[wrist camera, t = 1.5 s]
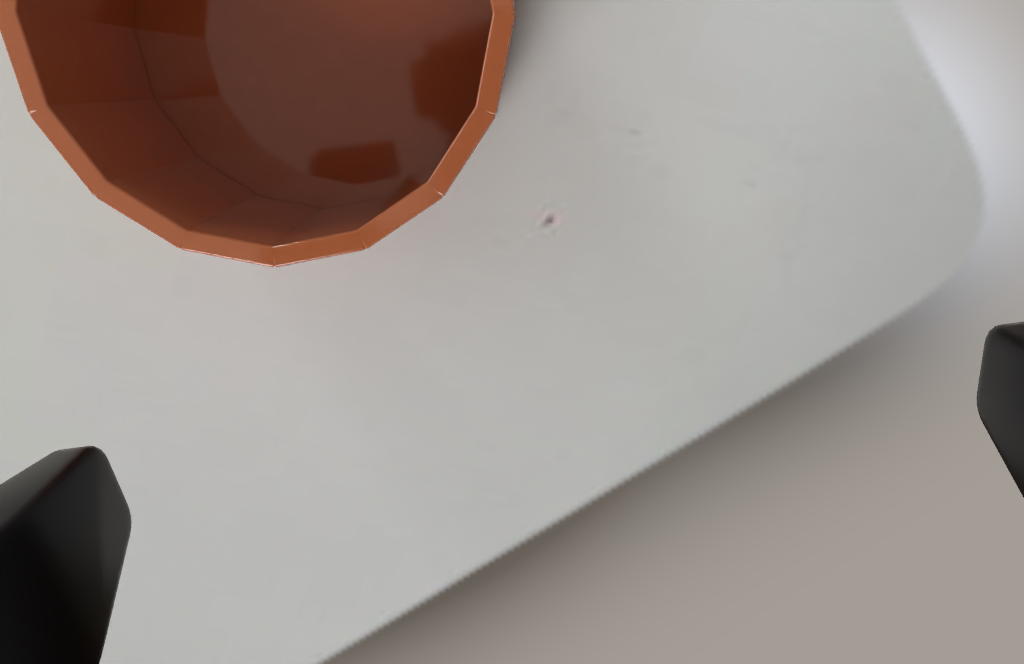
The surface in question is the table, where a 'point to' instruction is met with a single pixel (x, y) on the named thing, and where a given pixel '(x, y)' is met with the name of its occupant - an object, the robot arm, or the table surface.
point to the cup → (263, 111)
